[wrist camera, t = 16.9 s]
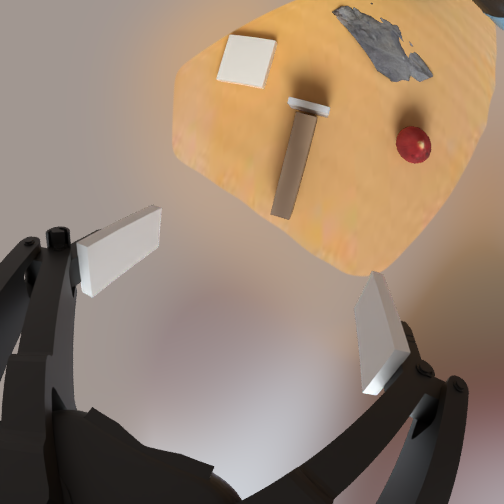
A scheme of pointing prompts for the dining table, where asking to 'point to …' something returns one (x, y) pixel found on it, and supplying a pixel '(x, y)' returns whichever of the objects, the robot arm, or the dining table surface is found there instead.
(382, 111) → the dining table surface
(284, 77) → the dining table surface
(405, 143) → the onion
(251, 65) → the tile
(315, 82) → the dining table surface
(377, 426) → the robot arm
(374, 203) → the dining table surface
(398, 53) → the stone slab
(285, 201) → the scraper
